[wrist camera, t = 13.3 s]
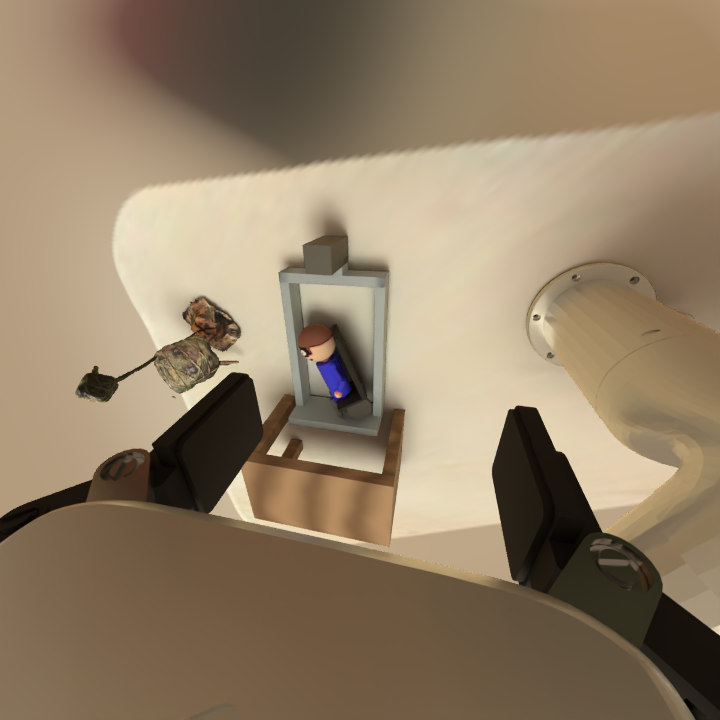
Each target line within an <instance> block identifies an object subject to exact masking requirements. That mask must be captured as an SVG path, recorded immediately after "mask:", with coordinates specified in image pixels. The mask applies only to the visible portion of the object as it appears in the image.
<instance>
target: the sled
mask: <svg viewBox="0 0 720 720" xmlns="http://www.w3.org/2000/svg"><path fill="white" fill-rule="evenodd" d="M303 254H304V264H305V268H293V267H288V268H286V269H284V270H282V271H281V272H279V281H280V288H281V296H282V303H283V311H284V318H285V326H286V333H287V340H288V348H289V355H290V363H291V370H292V378H293V385H294V393H295V400H296V407H295V408H294V410H293V411H292V413H291V414H290V416H289V418H288V419H289V424H293V425H300V426H306V427H313V428H320V429H327V430H334V431H340V432H347V433H354V434H361V435H368V436H374V437H377V436H378V432H379V428H380V424H381V420H382V415H383V411H384V388H385V361H386V335H387V309H388V283H389V272H384V271H361V270H348V236H322V237H320V238H318V239H315V240H313V241H311V242H308V243H306V244H304V245H303ZM298 283H303V284H321V285H340V286H358V287H375V322H374V381H373V403H370V404H371V412H370V414H369V415H368V416H367V417H366V418H364V419H353V418H352V417H350V416H349V414H348V412H347V408H346V409H344V410H342V413H343V419H341V418H340V417H338V415H337V413H336V411H335V410H334V408H333V406H332V404H331V402H330V400H329V399H330V398H326V397H318V396H311V395H310V389H309V379H308V370H307V360H306V358H305V357H304V356H303V355H302V354H301V352H300V350H299V348H298V337H299V335H300V333H301V331H302V330H303V322H302V312H301V303H300V293H299V284H298Z"/></svg>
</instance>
